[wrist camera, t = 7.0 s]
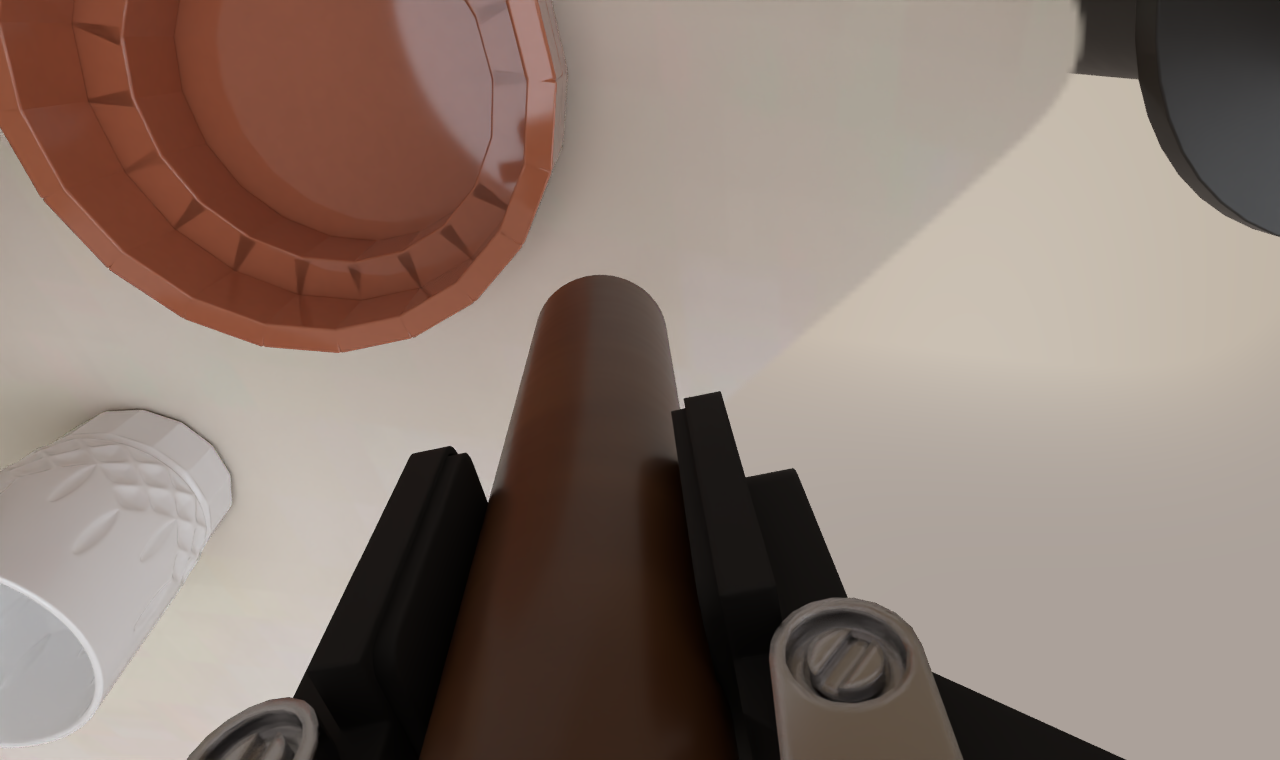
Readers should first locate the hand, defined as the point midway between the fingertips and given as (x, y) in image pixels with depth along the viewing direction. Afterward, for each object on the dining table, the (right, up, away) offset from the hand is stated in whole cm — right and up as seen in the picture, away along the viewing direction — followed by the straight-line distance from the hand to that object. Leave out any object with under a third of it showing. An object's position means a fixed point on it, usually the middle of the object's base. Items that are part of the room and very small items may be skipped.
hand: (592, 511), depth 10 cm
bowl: (-9, +12, +14) cm, 20 cm away
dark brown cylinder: (0, +3, +6) cm, 7 cm away
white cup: (-20, -2, +20) cm, 29 cm away
